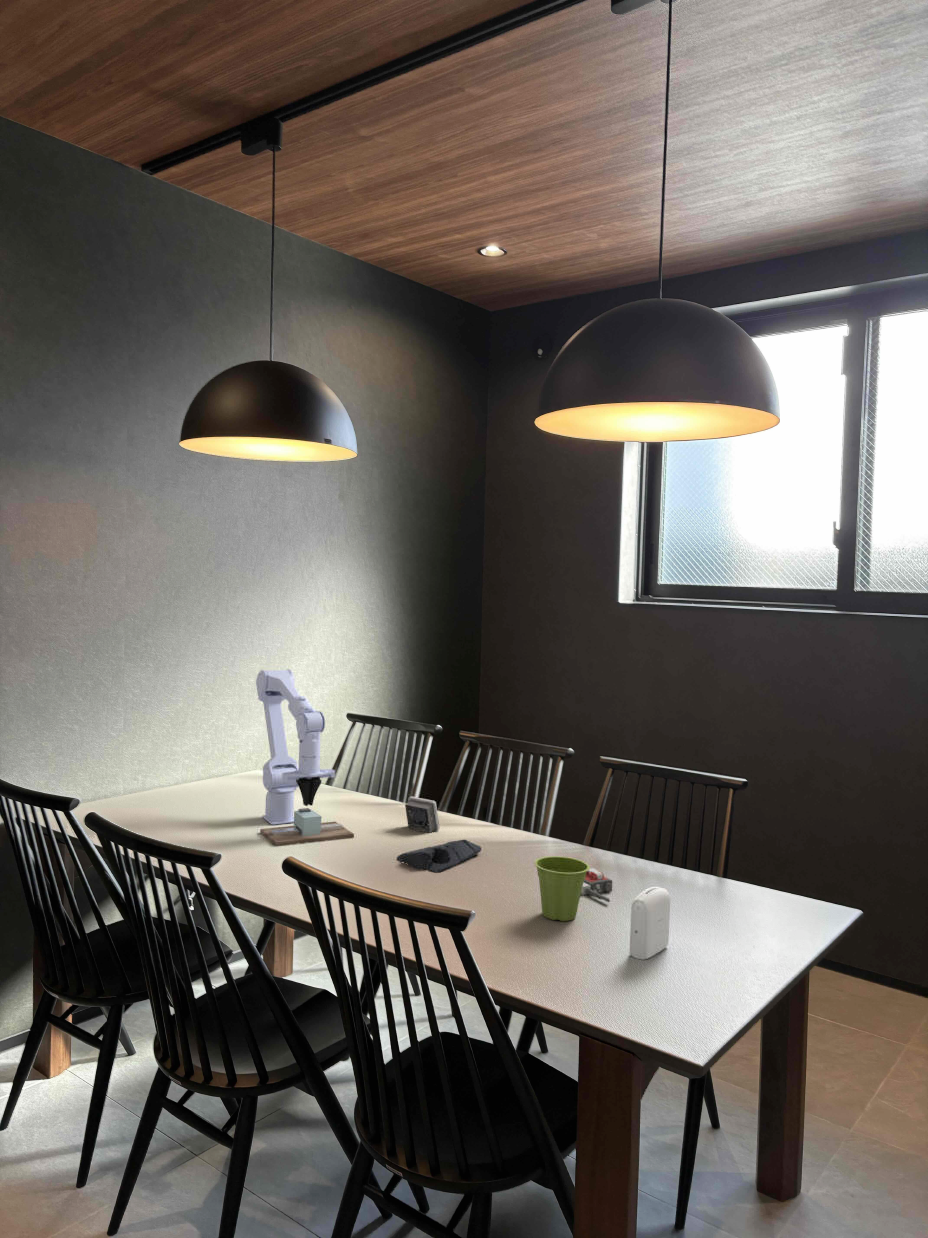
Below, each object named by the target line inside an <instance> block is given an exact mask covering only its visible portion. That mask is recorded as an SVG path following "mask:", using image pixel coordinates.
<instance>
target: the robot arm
mask: <svg viewBox="0 0 928 1238" xmlns="http://www.w3.org/2000/svg"><path fill="white" fill-rule="evenodd" d="M255 684H256V685H255V686H256V691H257V696H258V700H259V701H260V702H262V703H263V710H264V717H265V725H266V732H267V738H268V740H267V741H268V746H269V753H270V758H269V759H268V760H267V761H266V762H265V763H264V764H263V766H262V785H263V787H264V788H265V790H267V792H266V795H265V811H264V814H263V815H262V816H261V817H262V818H263V819H264V820H265V821H266V822H268V823H269V824H270V825H281V824H282V825H283V824H294V811H295V810H294V806H295V805H294V804H295V803H294V801H295V796H294V795H295V791H297V788H299V791H300V795H301V798H302V804H303V806H305V807H307V806H313V804H314V800H315V797H316V794H317V792H318V789H319V788H320V786H321V784H322V779H323V778H335V776H336V770H334V769H332V768H331V769H320V765H321V763H320V761H321V737H322V736H321V735H322V734H321V733H323V732H324V731H325V727H326V718H325V716H324V713H323V712H322V711H320V710H317V709H316V710H315V709H314V708H313V706H312V705H311V703H310V702H309V700H308V699H307V697H305V696H304V695H300V694H299V692H298V689H297V687H296V685H295V675H294V673H293V671H292V670H291V669H281V670H280V669H278V670H277V669H276V670H274V669H273V670H272V669H271V670H263V669H262V670H259V671H258V673H257V677H256V680H255ZM285 700H286V701H287V702H288V707H287V709H288V711H289V712H290V714H291V715H292V717H293V718H294V720H295V728H296V732H297V739H298V743H299V744H298V761H297V760H296V759H294V758H293V757H292V756H290V755H289V753H288V745H287V738H286V731H285V725H284V718H283V717H284V716H283V709H282V706H281V705H282V702H284V701H285Z"/></svg>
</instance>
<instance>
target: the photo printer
mask: <svg viewBox="0 0 928 1238" xmlns="http://www.w3.org/2000/svg"><path fill="white" fill-rule="evenodd" d="M670 912H671V897H670V893H669V892H668V891H667V889H666V888H664V887H660V886H651V887H648V888H647V889H644V890H643V891H641V892H639V894H638V895H637V896H636V897H635V898H634V900H633V901H632V903H631V907H630V927H629V928H630V930H629V931H630V933H629V954H630V955H631V957H633V958H634V959H637V960H642V961H644V960H648V959H649V958H651V957H653V956H655V955H656V954H659V952H661V951H664V950H665V949H666V948H667V947H668V946H669V942H670V941H669V938H670V936H669V935H670Z"/></svg>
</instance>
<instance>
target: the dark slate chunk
mask: <svg viewBox="0 0 928 1238" xmlns="http://www.w3.org/2000/svg"><path fill="white" fill-rule="evenodd" d="M480 852H482V847H481V846H480V845H477V844H475V843H474V842H471V841H469V840H467V839H459V840H451V841H448V842H446V843H442V844H438V845H433V846H428V847H424V848H423V847H422V848H419V849H415V850H410V851H407V852H403V853H401V854H399V855H397V857H396V858H397V859H398V860H397V859H396V860H397V861H400V862H399V863H401V862H404V863H407V864H408V865H409V866H408V865H407V864H406V865H407V866H408V867H411V866H412V868H414V867H415V868H414V869H418V870H421V869H423V870H422V871H429V872H434V873H440V872H442V871H444V870H448V869H451V868H452V867H456V866H458V865H460V863H463V862H465V861H467V860H469V859H471V858H473V857H474V856H475V855H477V854H478V853H480ZM404 863H403V864H404Z"/></svg>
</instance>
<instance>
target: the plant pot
mask: <svg viewBox="0 0 928 1238" xmlns="http://www.w3.org/2000/svg"><path fill="white" fill-rule="evenodd" d="M534 866H535V867H536V869H537V876H538V882H539V891H540V892H539V893H540V903H541V914H542V915H543V916H544V917H545V918H546V919H549V920H552V921H555V920H558V921H561V922H567V921H572V920H574V919H575V918H576V916H577V913H578V908H579V903H580V900H581V895H582V894H581V891H582V886H583V882H584V880H585V877H586V873H587V871H588V870H589V869H591V867H590V865H589V864H588V863H587V862H585V861H583V860H581V859H578V858H573V857H568V856H561V855H560V856H559V855H555V856H553V855H552V856H550V855H549V856H544V857H539V858H536V860H535V861H534Z"/></svg>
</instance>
